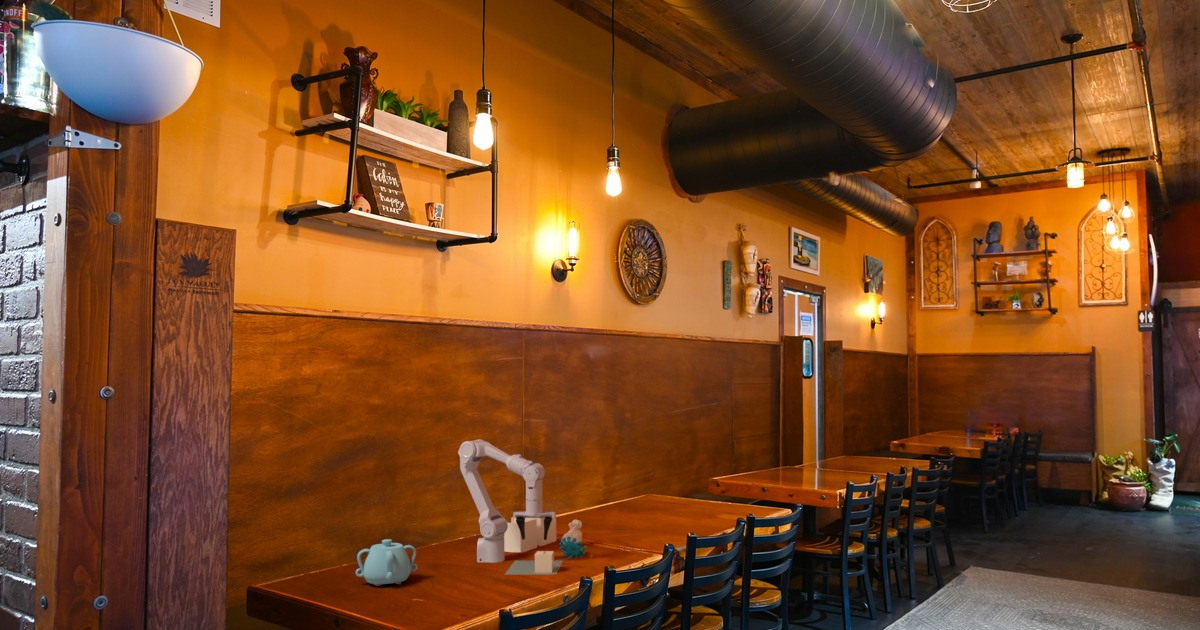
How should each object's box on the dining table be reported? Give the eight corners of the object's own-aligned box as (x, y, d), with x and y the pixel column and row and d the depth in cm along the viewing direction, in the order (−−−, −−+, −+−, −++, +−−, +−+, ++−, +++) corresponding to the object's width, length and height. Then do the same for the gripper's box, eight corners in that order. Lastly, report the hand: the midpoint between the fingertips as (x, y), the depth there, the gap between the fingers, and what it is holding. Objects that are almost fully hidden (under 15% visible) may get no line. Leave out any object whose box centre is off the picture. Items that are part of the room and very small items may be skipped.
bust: (565, 555, 315) (580, 532, 313) (551, 541, 318) (566, 519, 316) (581, 549, 326) (596, 527, 323) (568, 535, 329) (582, 514, 326)
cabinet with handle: (534, 572, 274) (534, 554, 274) (537, 568, 279) (537, 550, 280) (551, 572, 273) (551, 554, 274) (553, 568, 279) (553, 550, 279)
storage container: (520, 553, 310) (520, 523, 311) (496, 551, 315) (496, 521, 316) (556, 541, 332) (556, 513, 333) (533, 539, 337) (533, 511, 338)
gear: (565, 558, 292) (557, 535, 299) (558, 568, 295) (550, 545, 302) (592, 558, 298) (583, 535, 305) (584, 568, 301) (576, 545, 308)
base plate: (504, 578, 272) (504, 574, 272) (514, 564, 292) (514, 560, 292) (556, 578, 271) (556, 574, 271) (563, 564, 291) (563, 560, 291)
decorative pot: (349, 585, 267) (349, 542, 268) (386, 574, 281) (386, 533, 282) (386, 591, 259) (386, 546, 259) (423, 579, 272) (422, 537, 273)
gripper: (511, 501, 286) (511, 541, 285) (553, 501, 285) (553, 541, 284) (515, 498, 293) (515, 537, 292) (556, 498, 292) (556, 537, 291)
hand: (534, 539), depth 288 cm, fingers open, 7 cm apart
